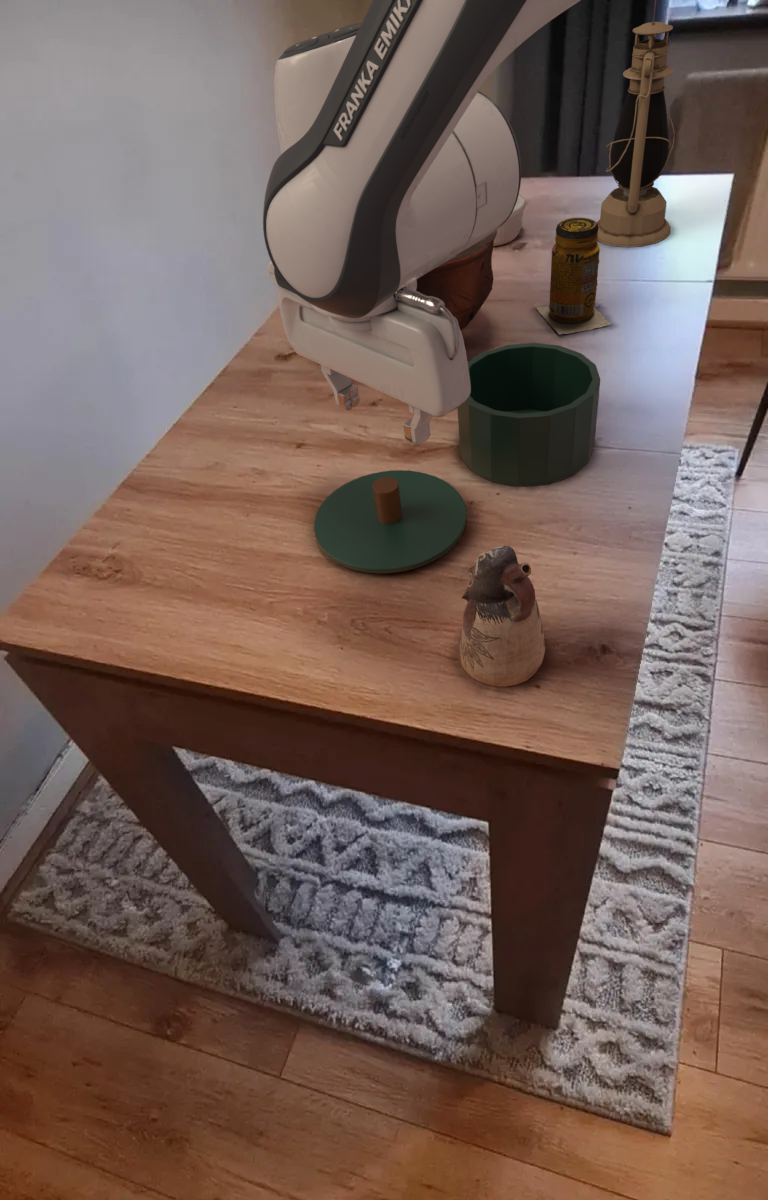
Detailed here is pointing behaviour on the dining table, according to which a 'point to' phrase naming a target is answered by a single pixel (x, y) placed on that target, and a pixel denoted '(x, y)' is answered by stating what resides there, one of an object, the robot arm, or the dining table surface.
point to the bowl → (462, 281)
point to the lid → (390, 521)
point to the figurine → (501, 621)
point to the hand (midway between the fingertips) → (381, 421)
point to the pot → (529, 414)
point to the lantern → (640, 148)
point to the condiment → (574, 278)
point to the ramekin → (511, 224)
